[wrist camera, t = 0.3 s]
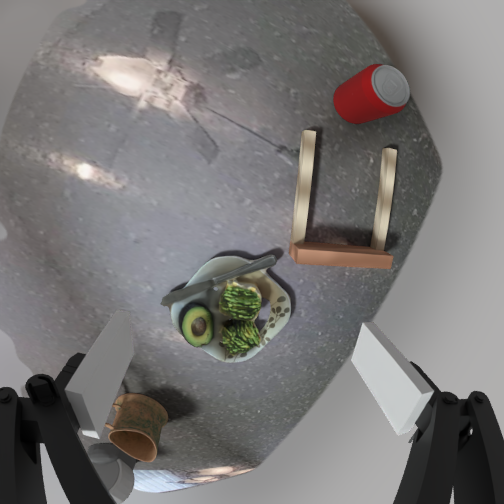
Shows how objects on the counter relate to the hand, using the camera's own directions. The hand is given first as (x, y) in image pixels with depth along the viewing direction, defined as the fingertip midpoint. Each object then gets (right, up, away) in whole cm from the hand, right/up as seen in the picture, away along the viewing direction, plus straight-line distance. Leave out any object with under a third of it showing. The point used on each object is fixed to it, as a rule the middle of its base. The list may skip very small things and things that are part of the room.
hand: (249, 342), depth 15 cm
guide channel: (+14, +13, +26) cm, 32 cm away
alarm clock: (-37, -49, +39) cm, 72 cm away
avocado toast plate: (-4, -4, +30) cm, 30 cm away
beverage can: (+15, +27, +22) cm, 38 cm away
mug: (-25, -26, +33) cm, 49 cm away
